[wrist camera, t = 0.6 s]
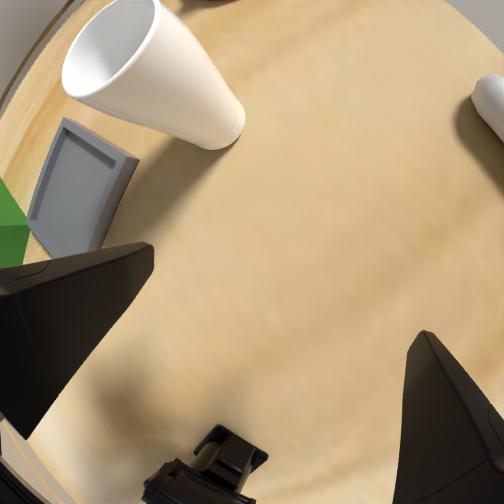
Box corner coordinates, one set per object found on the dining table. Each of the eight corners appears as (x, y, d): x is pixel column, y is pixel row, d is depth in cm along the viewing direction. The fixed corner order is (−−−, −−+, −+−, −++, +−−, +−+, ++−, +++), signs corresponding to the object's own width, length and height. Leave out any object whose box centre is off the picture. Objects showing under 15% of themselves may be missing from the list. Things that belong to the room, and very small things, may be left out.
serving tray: (88, 282, 30) (76, 284, 28) (36, 222, 33) (25, 222, 31) (139, 160, 27) (127, 156, 25) (74, 120, 30) (63, 117, 28)
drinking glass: (215, 175, 25) (83, 125, 10) (172, 129, 26) (48, 70, 11) (271, 119, 23) (188, 7, 9) (221, 78, 24) (125, -19, 10)
